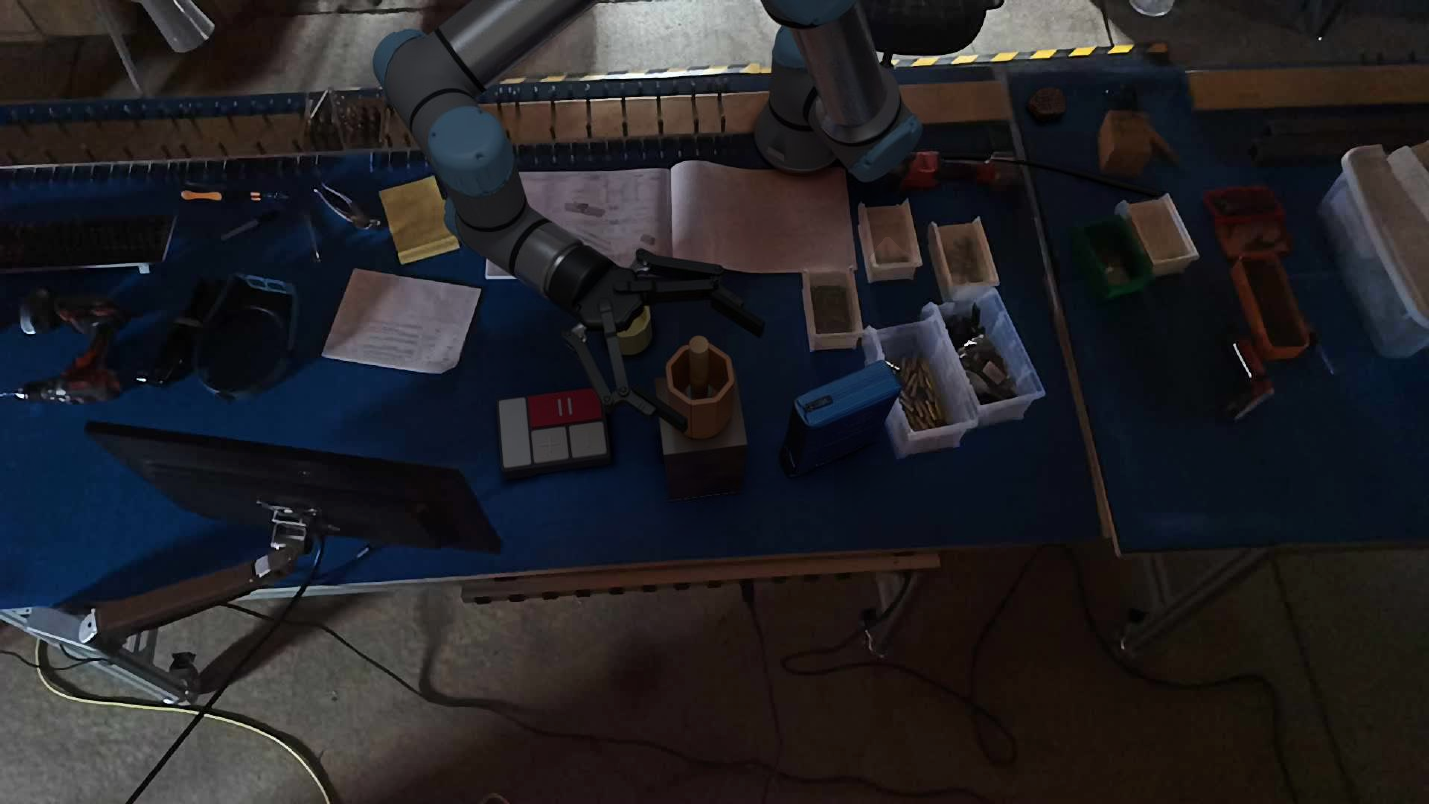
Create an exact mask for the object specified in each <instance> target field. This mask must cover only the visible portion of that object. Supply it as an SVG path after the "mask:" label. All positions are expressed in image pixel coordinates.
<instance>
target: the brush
mask: <svg viewBox="0 0 1429 804" xmlns="http://www.w3.org/2000/svg"><path fill="white" fill-rule="evenodd" d="M709 343H710V342H709V340H708V339H707V338H706V337H705V336H702V335H695V336H693V337H692V338H691V339H690V340H689V342H688V345H689V361H690V385H689V386H688V387H687V390H686V396H687V397H688V398H690V399H691V400H697V399H706V398H712V395H713V392H712V388H711V386H710V385H709V384H708V367H709Z"/></svg>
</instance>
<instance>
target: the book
mask: <svg viewBox="0 0 1429 804" xmlns="http://www.w3.org/2000/svg"><path fill="white" fill-rule="evenodd" d="M902 391H903V386H902V384H901V383H899V381H898V379H897V377H896V374H895V372H894V370H893V369H892V368H891V367H890V365H889V364H888V362H887V361H886V360H885V359H879V360H876V361H875V362H873V363H870V364H868V365H867V366H865V367H864V368H861V369H859V370H857V371H856V370H855V371H853V372H851V373H849V374H847V375H844V376H842V377H840V378H838V379H835V380H832V381H829V382H828V383H825V384H822V385H821V386H819V387H817V388H814V389H811V390H808V391H807V392H805V393H804V394H801V395H799V396H797V398H795V399H794V402H793V403H792V406H791V411H790V415H789V420H788V425H787V426H788V427H787V430H786V434H785V436H784V437H785V438H784V440H783V442H782V446H781V449H780V451H779V456H778V458H779V461H780V460H781V462H780V464H782V465H781V466H782V468H783V472H784V473H785V474H786V475H787V477H788V478H796V477H799V476H802V475H804V474H806V473H808V472H810V471H813V470H815V469H817V468H818V467H822V466H824V465H826V464H829V463H831V462H834V461H837V460H839V459H841V458H843V457H845V456H847V455H848V454H852V453H853V452H855V451H858V450H860V449H863V448H864V447H865V446H868V445H870V444H873V443H874V442H875V441H877V439H878V437H879V435H880V434H881V431H882V429H883V427H884V425H885V423H886V420H887V419H888V417H889V415H890V413H891V411H892V409H893V406H894V405H895V403H896V401H897V400H898V398H899V396H900V394H901V392H902ZM859 447H861V448H859ZM858 448H859V449H858ZM856 449H857V450H856ZM854 450H855V451H854ZM830 460H831V461H830ZM828 461H830V462H828ZM826 462H827V463H826ZM821 463H825V464H822V465H820V464H821ZM816 464H818V465H819V466H815V465H816ZM811 468H812V469H811ZM808 470H809V471H808ZM806 471H807V472H806ZM786 472H787V473H786ZM804 472H805V473H804ZM802 473H803V474H802ZM800 474H801V475H800ZM792 475H795V476H792ZM798 475H799V476H798Z"/></svg>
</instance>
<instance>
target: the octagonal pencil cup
mask: <svg viewBox="0 0 1429 804" xmlns="http://www.w3.org/2000/svg"><path fill="white" fill-rule="evenodd" d="M708 343H709V367H708V384H709V385H710V386H711V388H712V392H713V395H712V398H706V399H697V400H691V399H690V398H688V397H687V396H686V390H687V387H688V386H689V385H690V361H689V344H685V345H684V344H683V345H682V346H680V348H679V349H678V350H677V351H676V352H675V353H674V354H673V355H672V357H671V358H670V359H669V360H668V361H667V363H666V364H665V366H664V367H665V377H666V378H667V388H668V399H669V406H670V407H672V408H673V409H674V410H676V411H677V412H679V413H680V414H682V415H683V416H685V417H686V418H688V429H687V430H686V431H685V433H684V435H686V436H688V437H692V438H697V439H703V438H709V437H712V436H714V435H716V434H718V433H719V432H720V431H721V430H722V429H723V428H724V427H725V426H726V424H727V422H728V421H729V419H730V418H731V416H732V405H733V393H734V381H735V380H734V374H733V369H734V368H733V362H732V358H731V356H729V355H728V354H727V353H725V352H723V351H722V350H721V349H719V348H718V347H716V346H715V345H714V344H712V343H710V342H708ZM681 433H682V432H681Z"/></svg>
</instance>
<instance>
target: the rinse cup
mask: <svg viewBox="0 0 1429 804" xmlns="http://www.w3.org/2000/svg"><path fill="white" fill-rule="evenodd" d="M603 334H604V338H605V341H606V342H607V340H606V336H605V333H603ZM617 336H618V341H619V345H620V350H621V354H622V356H623V355H624V356H632V355H637V354H639V353H641V352H643V351H645V349H647V348H648V347H649V345H650V343H651V342H652V339H653V328H652V318H651V312H650V306H644V312H643V313H642V314H641V315H640V316H639V317H638V318H636V319H635V320H634V321H633V323H632V325H631V327H630V328H629V329H628V330H627V331H623V332H620V333H617Z"/></svg>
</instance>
